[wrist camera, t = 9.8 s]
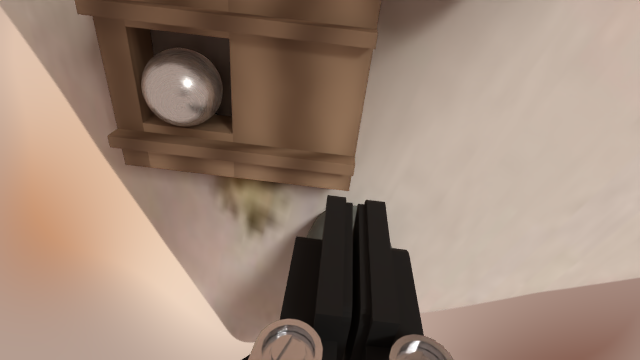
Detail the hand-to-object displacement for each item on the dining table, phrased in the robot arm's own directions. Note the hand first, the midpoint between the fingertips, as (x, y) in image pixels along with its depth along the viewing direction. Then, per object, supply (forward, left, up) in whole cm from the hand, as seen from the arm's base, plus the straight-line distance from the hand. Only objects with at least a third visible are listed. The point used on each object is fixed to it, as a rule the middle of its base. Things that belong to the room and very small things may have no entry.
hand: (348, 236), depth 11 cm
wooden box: (+9, +2, -22) cm, 23 cm away
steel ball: (+13, +3, -19) cm, 23 cm away
